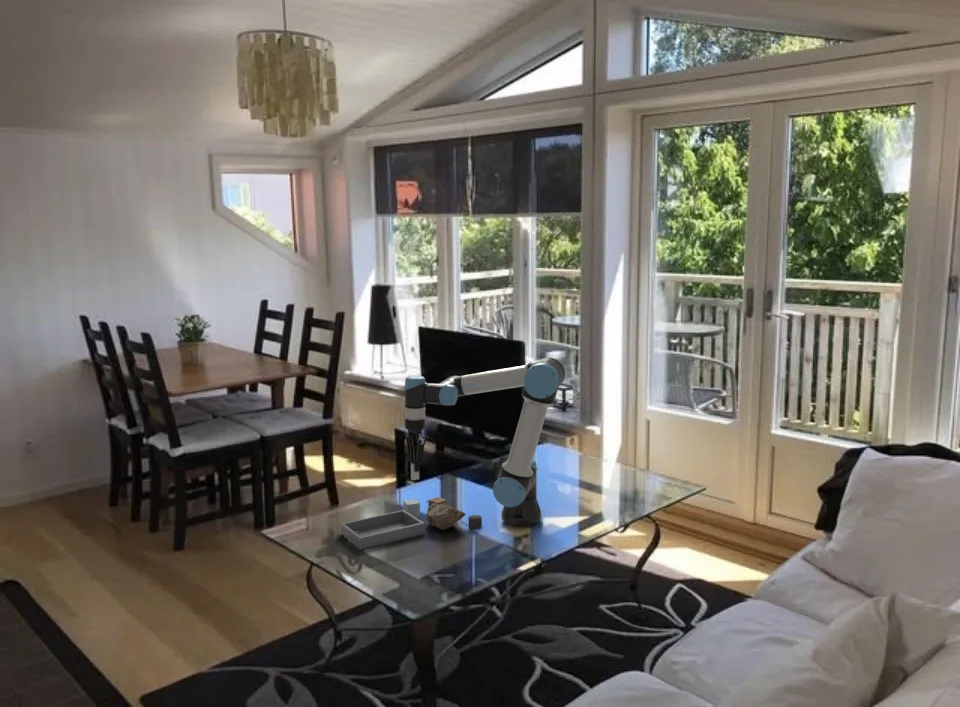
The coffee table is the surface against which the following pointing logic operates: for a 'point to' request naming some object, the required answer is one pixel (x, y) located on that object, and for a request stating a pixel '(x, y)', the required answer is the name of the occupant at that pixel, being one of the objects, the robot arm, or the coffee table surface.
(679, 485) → the coffee table surface
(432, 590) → the coffee table surface
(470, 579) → the coffee table surface
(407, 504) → the bluegrey block
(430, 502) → the walnut cube
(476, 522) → the dark grey cylinder
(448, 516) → the rock
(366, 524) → the grey tray
